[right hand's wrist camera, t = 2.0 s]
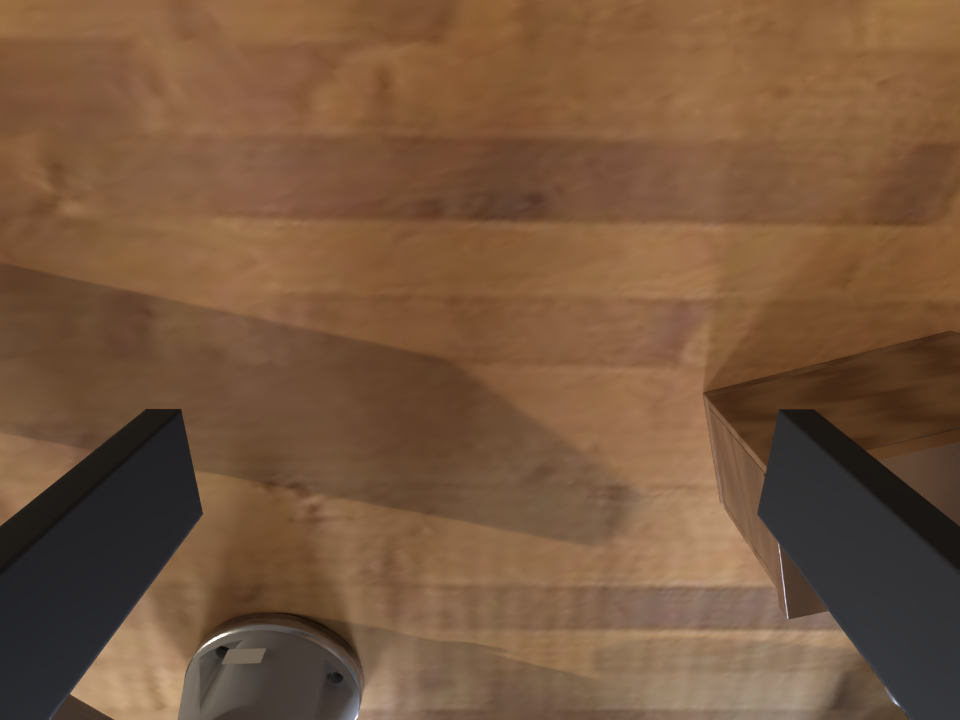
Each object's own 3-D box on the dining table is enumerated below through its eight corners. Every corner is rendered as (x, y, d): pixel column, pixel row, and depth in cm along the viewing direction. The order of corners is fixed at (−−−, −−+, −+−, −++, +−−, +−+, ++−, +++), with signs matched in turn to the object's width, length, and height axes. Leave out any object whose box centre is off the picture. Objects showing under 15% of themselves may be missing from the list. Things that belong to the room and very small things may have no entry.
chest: (719, 502, 45) (786, 603, 35) (702, 392, 41) (770, 471, 32) (950, 449, 43) (1088, 540, 33) (951, 330, 40) (1105, 393, 30)
